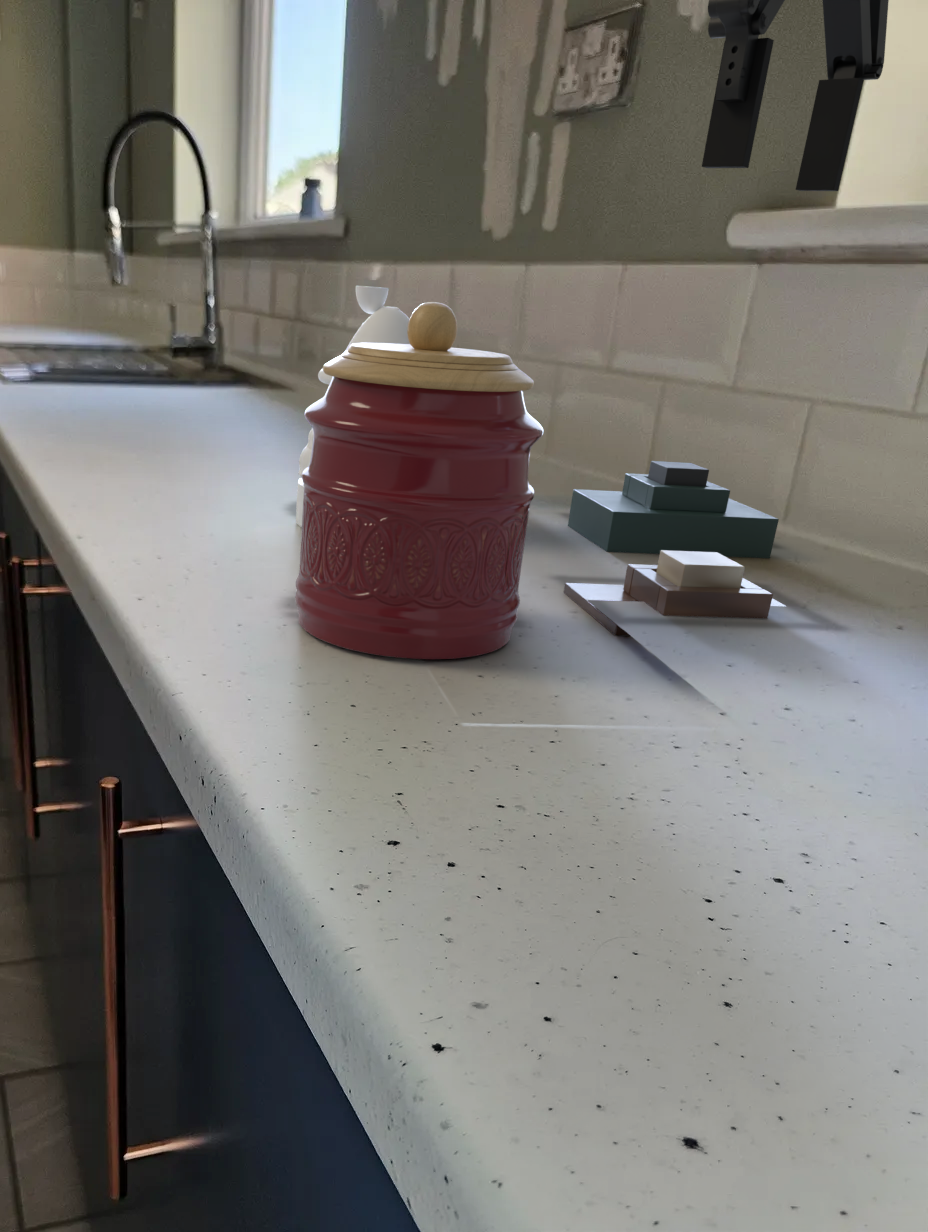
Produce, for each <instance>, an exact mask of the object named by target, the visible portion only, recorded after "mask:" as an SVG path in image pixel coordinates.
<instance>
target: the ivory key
mask: <svg viewBox="0 0 928 1232" xmlns="http://www.w3.org/2000/svg"><path fill="white" fill-rule="evenodd" d="M658 555H659V556H658V561H657V565H658V566H657V571H656V573H658V574H659V575H661V576H662V577H664V578H666V579H667V580H669V581H670V582H672V583H673V584H675V585H677V586H683V587H712V588H740V587H741V583H742V578H744V575H745V571H746V570H745V569H746V567H745V566H744V565H742V564H741V563H738V562H737V561H734V560H732V559H731V558H729V557H725V556H723V555H721V554H719V553H717V552H695V551H670V550H661V551H660V554H658Z"/></svg>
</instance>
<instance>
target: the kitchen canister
mask: <svg viewBox="0 0 928 1232" xmlns="http://www.w3.org/2000/svg"><path fill="white" fill-rule="evenodd" d="M457 321H458V320H457V318H456V315H455V313H454V311H453V309H452V308H450V306H448V305H447V304H445V303H443V302H438V301H437V302H436V301H427V302H424V303H421V304H419V305H418V306H417V307H415V309H414V310H413V311H412V313H411V315H410V316H409V322H408V328H407V334H408V339H409V342H410V344H391V343H355V344H352V345H351V346H350V347H349V348H348V350H347V351H346V352H345V351H344V352H343V353H341V354H340V355H338V356H336V357H334V358H332V359H330V360H329V361H328V362H326V363H324V364H323V366H322V369H323V371H324V373H325V374H327V375H330V376H333V377H332V380H331V383H330V385H328V387H329V388H328V387H327V389H328V390H327V389H326V391H327V392H325V394H324V395H323V397H321V398H320V399H318V400H317V401H315V402H313V403H312V404H310V405H309V406H308V407H307V408H306V409H305V411H304V417H305V420H306V421H307V422H308V424H309V425H310V427H311V429H312V428H313V431H314V438H313V447H312V454H311V461H310V465H309V467H307V468H306V469H305V470H304V471H303V473H302V477H301V478H302V481H303V483H304V496H303V515H302V527H301V536H300V555H299V570H298V575H297V576H296V579H295V589H296V591H295V595H294V601H295V604H296V607H297V617H298V619H297V620H298V624H299V625H300V626H301V628H302V629H303V630H304V631H305V632H306V633H308V634H310V635H311V636H312V637H314V638H316V639H318V640H320V641H323V642H324V643H327V644H330V645H332V646H337V647H339V648H343V649H347V650H350V651H354V652H359V653H364V654H369V655H375V656H381V657H382V656H383V657H387V658H389V657H390V658H397V659H398V658H399V659H409V660H454V659H461V658H462V659H465V658H472V657H477V656H481V655H485V654H489V653H492V652H495V651H497V650H500V649H501V648H502V647H504V646H505V645H507V644H508V643H509V641H510V640H511V636H512V631H513V628H514V626H515V623H516V622H517V620H518V617H519V611H518V608H519V606H520V602H521V598H520V594H519V587H520V579H521V574H522V564H523V557H524V550H525V543H526V536H527V535H526V534H527V529H528V521H529V514H530V509H531V508H530V507H531V503H532V501H533V500H534V498H535V490H534V487H532V485H531V484H530V481H529V480H530V479H529V473H530V459H531V458H530V457H531V450H532V447H533V446H534V445H535V444H536V443H537V442H538V441H539V440H540V439H541V438H542V437H543V435H544V432H545V431H544V428H543V426H542V424H540V422H539V421H538V420H537V419H535V418H534V417H533V416H532V415H531V414H529V412H528V411H527V408H526V404H525V398H524V391H529V390H532V389H533V387H534V385H535V381H534V379H533V378H531V376H529V375H527V373H525V372H524V371H522V370H521V369H520V368H519V367H518V366H517V365H516V364H515V363H514V362H513V360H512V357H511V356H510V355H509V354H506V353H500V352H494V351H487V350H480V349H472V348H463V347H462V348H461V347H453V345H454V343H455V341H456V339H457V335H458V322H457Z"/></svg>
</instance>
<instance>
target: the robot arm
mask: <svg viewBox="0 0 928 1232" xmlns="http://www.w3.org/2000/svg"><path fill="white" fill-rule="evenodd" d="M785 1H786V0H708V3H707V13H708V16H709V17H710V19H709V21H708V25H707V33H708V36H709V38H710V39H713V40H714V39H723V38H725V40H724V41H723V42H724V43H723V49H722V54H721V58H720V59H721V60H720V63H719V71H718V75H717V80H716V86H715V92H714V97H713V103H712V107H711V113H710V119H709V125H708V130H707V135H706V140H705V146H704V151H703V158H702V161H701V162H702V163H701V167H702V168H705V169H749V166H750V162H751V157H752V150H753V148H754V147H753V146H754V142H755V137H756V132H757V126H758V123H759V116H760V112H761V106H762V101H763V98H764V97H763V96H764V91H765V88H766V87H765V86H766V83H767V82H766V81H767V77H768V73H769V66H770V62H771V57H772V53H773V52H772V51H773V47H774V42H775V40H774V39H772V38H770V37H759V36H762V35H765V34H766V33H767V32H768V29H769V28H770V26H771V24H772V23H773V21H774V19H775V18H776V16H777V14H778V13H779V11H780V10H781V8H782V6H783V4H784V3H785ZM889 1H890V0H822V11H823V14H822V15H823V26H824V27H823V29H824V40H825V41H824V43H825V59H826V74H827V79H819V80H818V83H817V87H816V88H817V89H816V93H815V98H814V102H813V107H812V111H811V117H810V120H809V126H808V129H807V134H806V139H805V140H806V141H805V144H804V149H803V154H802V158H801V163H800V167H799V170H798V171H799V172H798V177H797V180H796V185H795V190H796V191H798V192H839V189H840V185H841V180H842V176H843V172H844V169H845V163H846V160H847V155H848V151H849V146H850V143H851V138H852V133H853V130H854V124H855V120H856V115H857V111H858V107H859V103H860V99H861V94H862V90H863V86H864V81H873V80H879V79H880V78H881V76H882V73H883V69H884V63H885V54H886V43H887V42H886V41H887V27H888V14H889Z"/></svg>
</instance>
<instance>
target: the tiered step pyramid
mask: <svg viewBox="0 0 928 1232" xmlns="http://www.w3.org/2000/svg"><path fill="white" fill-rule="evenodd" d="M648 475H649V473H646V474H645V473H627V472H626V473H625V474H624V480H623V485H622V490H621V491H620V490H599V489H582V488H581V489H578V488H574V489H573V490H572V494H571V495H572V497H571V503H570V509H569V516H568V522H567V527H568V528H570V529H571V530H573V531H575V532H576V533H578V534H579V535H581V536H582V537H583V538H585V539H587V540H588V541H590V542H591V543H593V544H594V545H596V546H597V547H599V548H600V549H602V550H603V551H605V552H607V553H629V554H650V555H651V554H654V555H660V551H661V550H670V551H695V552H717V553H719V554H721V555H723V556H725V557H727V558H729V557H730V558H751V559H752V558H753V559H754V558H756V559H770V558H771V554H772V551H773V546H774V541H775V538H776V533H777V530H778V525H779V520H780V519H779V518H777V517H775V516H773V515H771V514H768V513H766V512H763V511H761V510H759V509H756V508H753V507H751V506H749V505H746V504H744V503H742V502H739V501H736V500H734V499H732V498H730V495H731V489H729V488H726V487H723V486H720V485H718V484H715V483H712V482H711V481H708V480H707V484H706V487H698V486H678V485H661V484H659V483H657V482H655V481H653V480H650V479H648Z"/></svg>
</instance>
